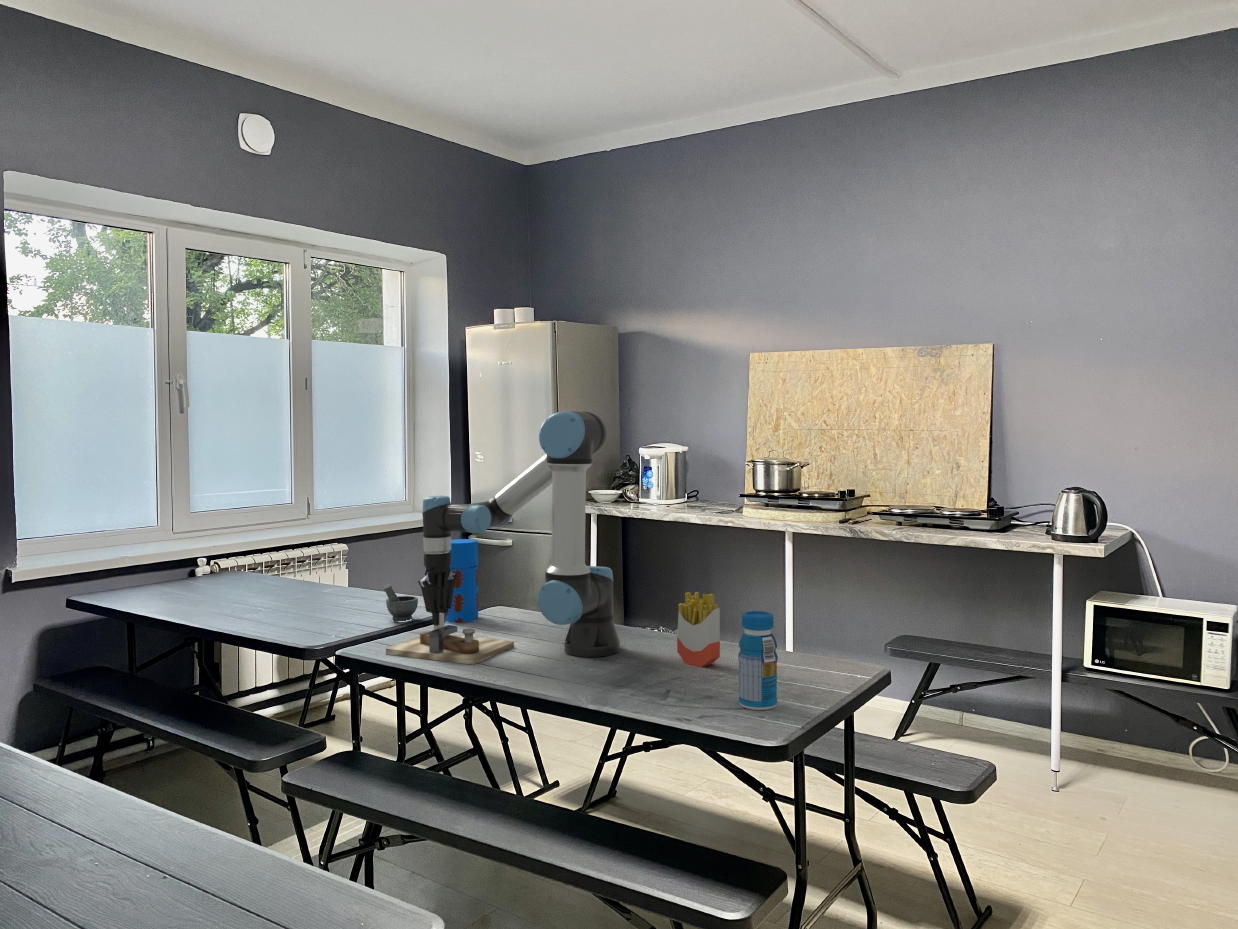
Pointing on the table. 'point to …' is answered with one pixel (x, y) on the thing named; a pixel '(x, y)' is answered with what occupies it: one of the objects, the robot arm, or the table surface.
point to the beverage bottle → (757, 662)
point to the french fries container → (698, 630)
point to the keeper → (439, 638)
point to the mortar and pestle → (400, 605)
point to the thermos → (464, 581)
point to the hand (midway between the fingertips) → (439, 636)
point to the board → (422, 650)
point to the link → (456, 641)
